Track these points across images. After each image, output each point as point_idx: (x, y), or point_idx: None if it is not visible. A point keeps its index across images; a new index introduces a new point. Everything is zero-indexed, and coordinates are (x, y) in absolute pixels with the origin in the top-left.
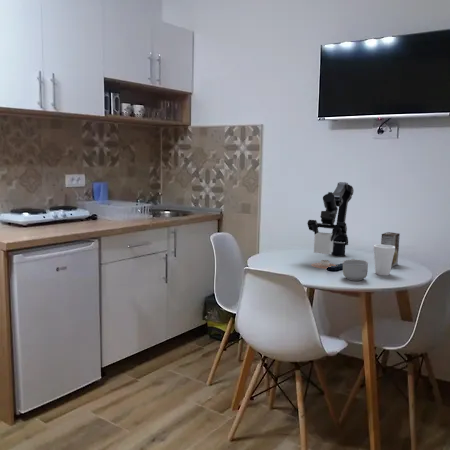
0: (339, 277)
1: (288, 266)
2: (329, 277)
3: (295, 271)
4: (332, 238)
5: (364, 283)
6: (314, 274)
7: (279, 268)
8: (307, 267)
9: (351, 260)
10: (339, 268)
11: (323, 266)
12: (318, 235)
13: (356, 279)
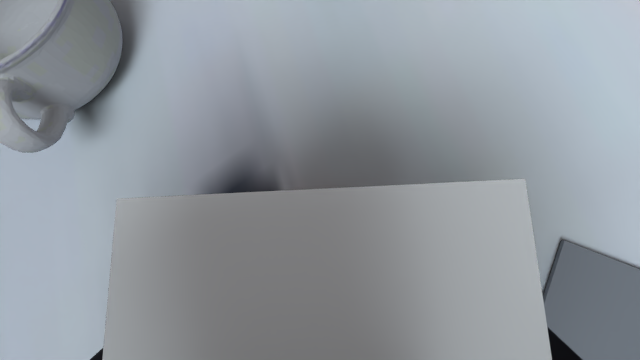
0: (160, 48)
1: (593, 139)
2: (215, 11)
3: (466, 23)
4: None
5: None
6: (321, 24)
7: (614, 34)
8: None
9: (4, 61)
10: None
11: None
12: (409, 186)
13: (49, 12)
